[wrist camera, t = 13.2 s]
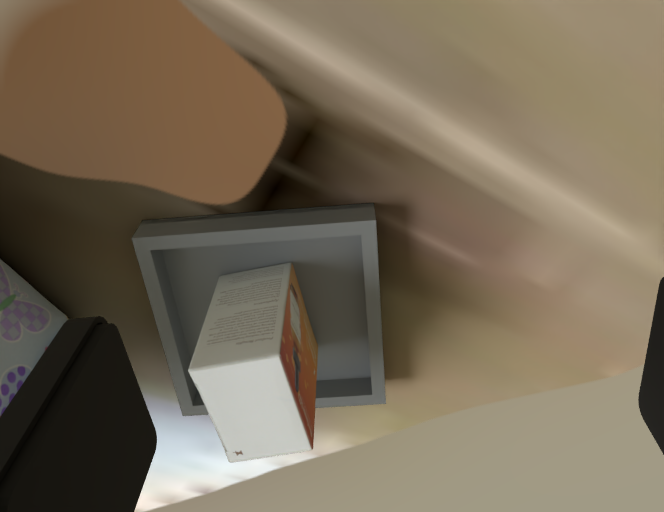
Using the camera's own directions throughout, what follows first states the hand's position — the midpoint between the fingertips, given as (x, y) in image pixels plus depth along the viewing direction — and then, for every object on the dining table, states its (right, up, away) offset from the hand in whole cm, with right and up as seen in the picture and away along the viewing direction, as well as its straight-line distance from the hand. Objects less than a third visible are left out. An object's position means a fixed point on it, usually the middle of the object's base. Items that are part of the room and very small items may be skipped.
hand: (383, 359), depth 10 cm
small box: (-6, -2, +34) cm, 35 cm away
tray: (-5, -2, +34) cm, 35 cm away
